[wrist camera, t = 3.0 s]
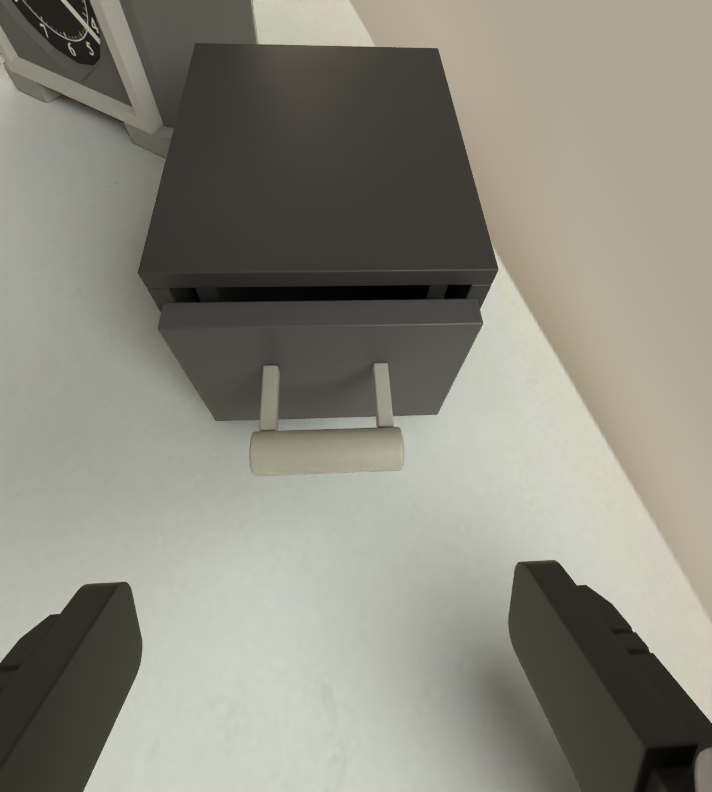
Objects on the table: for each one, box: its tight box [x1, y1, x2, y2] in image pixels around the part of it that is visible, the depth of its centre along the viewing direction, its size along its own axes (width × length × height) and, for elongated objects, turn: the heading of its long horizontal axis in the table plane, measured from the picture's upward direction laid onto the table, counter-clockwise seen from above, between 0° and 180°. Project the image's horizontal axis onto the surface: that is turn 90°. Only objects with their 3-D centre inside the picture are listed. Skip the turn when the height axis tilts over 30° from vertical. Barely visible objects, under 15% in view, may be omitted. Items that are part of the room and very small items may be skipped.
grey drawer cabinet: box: [138, 43, 498, 312], centre depth 22 cm, size 16×13×10 cm
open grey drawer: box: [158, 285, 483, 476], centre depth 20 cm, size 19×11×8 cm, turn 3°
